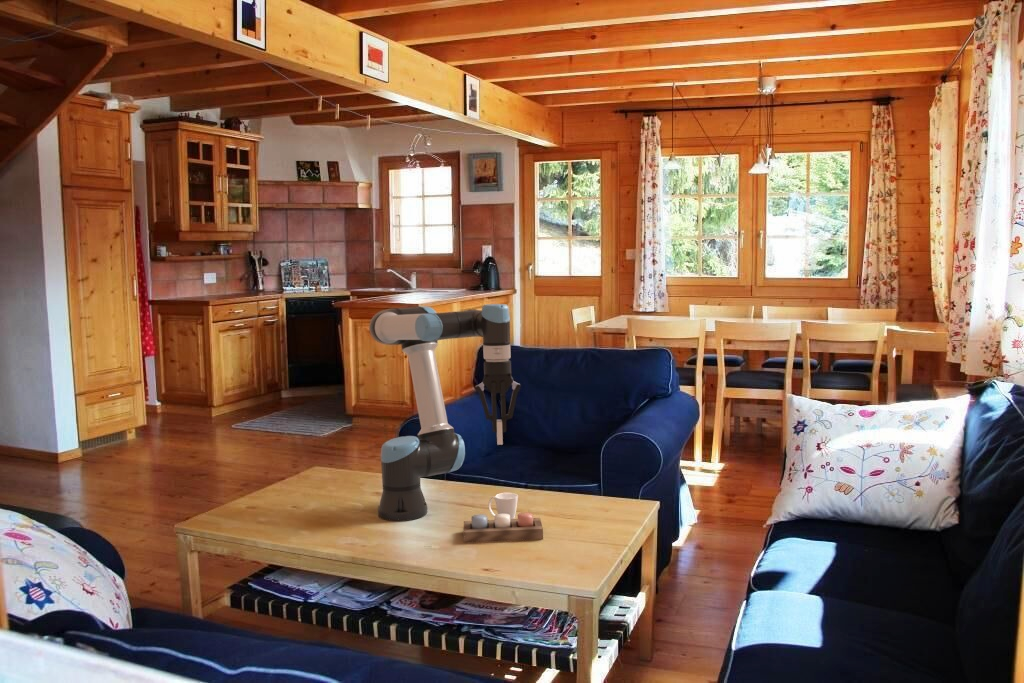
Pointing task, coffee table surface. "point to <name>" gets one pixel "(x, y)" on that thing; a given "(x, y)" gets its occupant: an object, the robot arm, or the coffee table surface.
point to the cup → (505, 504)
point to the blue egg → (479, 522)
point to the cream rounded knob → (502, 521)
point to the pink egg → (525, 520)
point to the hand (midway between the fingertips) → (499, 443)
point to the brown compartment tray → (503, 532)
